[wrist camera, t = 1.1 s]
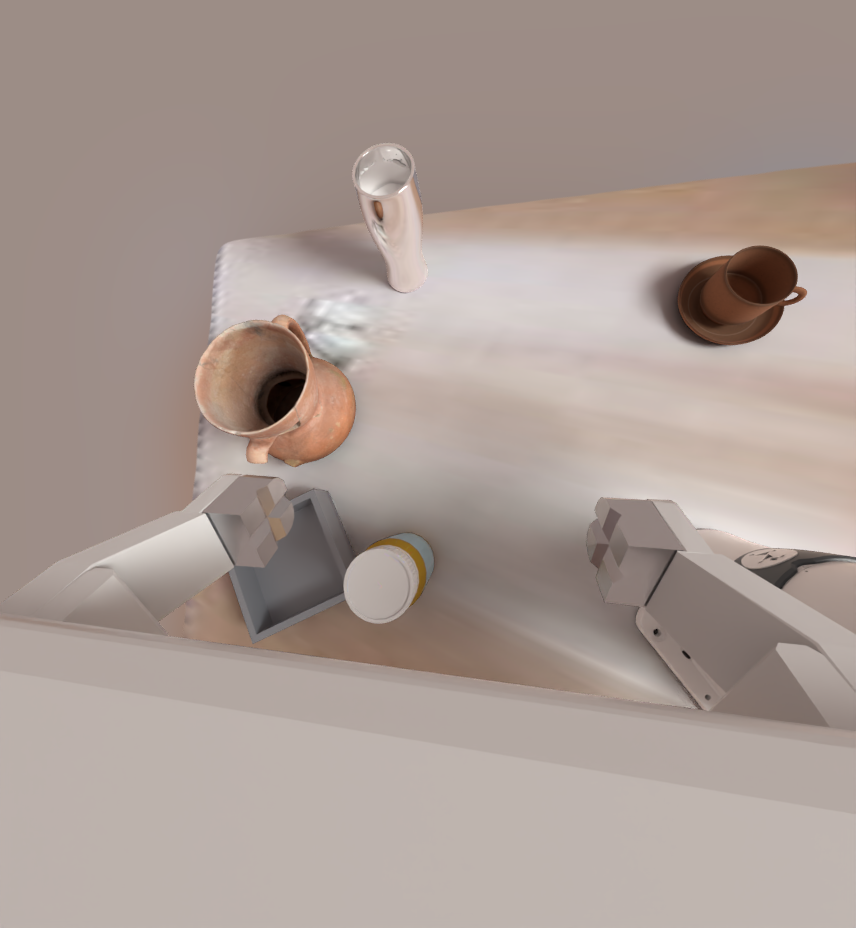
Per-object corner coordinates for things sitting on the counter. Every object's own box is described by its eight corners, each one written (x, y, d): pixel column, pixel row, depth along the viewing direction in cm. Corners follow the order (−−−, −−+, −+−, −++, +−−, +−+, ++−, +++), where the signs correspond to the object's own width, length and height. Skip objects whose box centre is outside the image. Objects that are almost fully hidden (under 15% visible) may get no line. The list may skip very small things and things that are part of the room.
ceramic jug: (352, 480, 45) (302, 466, 31) (254, 468, 47) (165, 450, 33) (371, 356, 47) (332, 291, 33) (277, 349, 49) (203, 285, 35)
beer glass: (422, 246, 49) (404, 130, 34) (437, 285, 48) (425, 183, 33) (378, 263, 49) (341, 156, 34) (392, 302, 48) (361, 210, 33)
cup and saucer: (760, 261, 43) (808, 220, 37) (779, 346, 42) (833, 318, 36) (663, 272, 45) (695, 234, 38) (677, 355, 43) (713, 329, 37)
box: (367, 586, 43) (356, 594, 38) (274, 630, 43) (252, 643, 39) (328, 491, 45) (313, 489, 40) (240, 533, 45) (216, 536, 41)
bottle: (440, 581, 42) (427, 619, 27) (387, 593, 42) (346, 637, 27) (427, 527, 43) (408, 534, 28) (376, 539, 43) (331, 553, 29)
